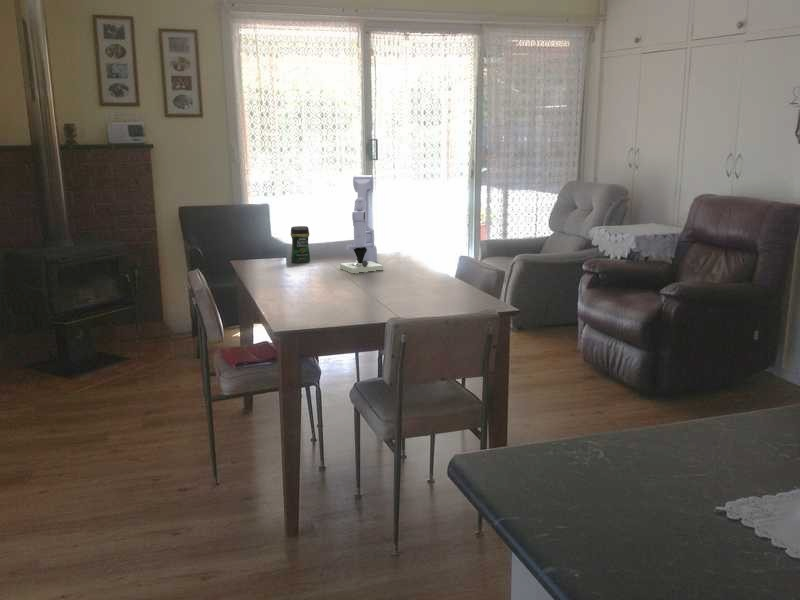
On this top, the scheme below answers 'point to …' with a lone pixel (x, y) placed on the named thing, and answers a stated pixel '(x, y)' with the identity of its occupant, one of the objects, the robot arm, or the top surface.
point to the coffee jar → (300, 244)
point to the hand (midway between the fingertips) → (360, 263)
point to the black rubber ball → (364, 263)
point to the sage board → (361, 267)
